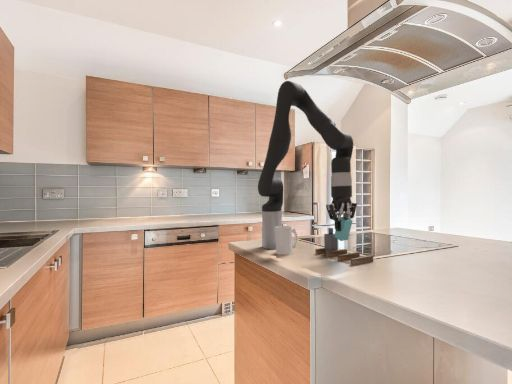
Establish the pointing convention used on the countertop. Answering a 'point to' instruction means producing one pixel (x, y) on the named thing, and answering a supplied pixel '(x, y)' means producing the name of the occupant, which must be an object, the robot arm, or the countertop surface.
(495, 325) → the countertop surface
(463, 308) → the countertop surface
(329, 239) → the charcoal plug
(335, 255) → the wooden slotted rack
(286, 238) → the mug
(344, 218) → the teal plug
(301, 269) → the countertop surface
